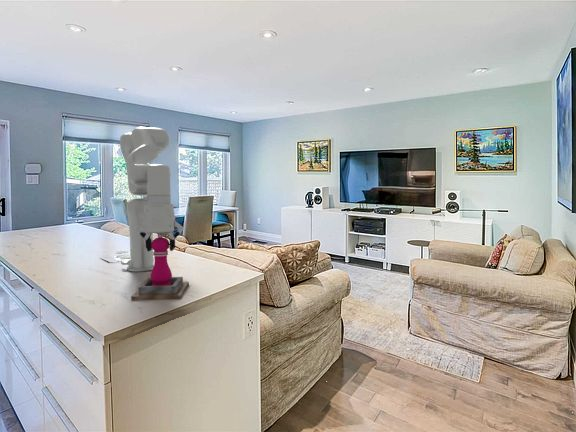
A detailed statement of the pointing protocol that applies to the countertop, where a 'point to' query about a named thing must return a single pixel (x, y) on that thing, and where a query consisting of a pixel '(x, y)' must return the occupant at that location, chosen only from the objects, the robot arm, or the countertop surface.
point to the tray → (123, 255)
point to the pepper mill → (160, 262)
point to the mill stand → (161, 290)
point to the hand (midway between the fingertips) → (160, 250)
